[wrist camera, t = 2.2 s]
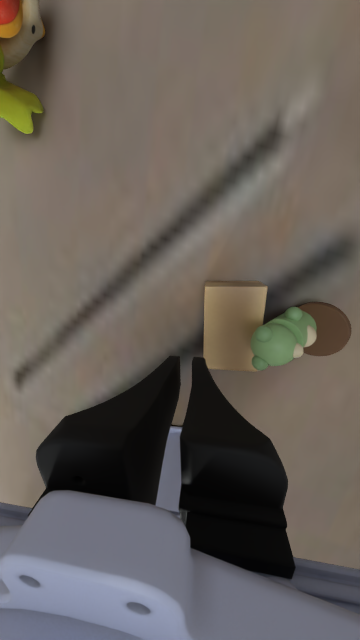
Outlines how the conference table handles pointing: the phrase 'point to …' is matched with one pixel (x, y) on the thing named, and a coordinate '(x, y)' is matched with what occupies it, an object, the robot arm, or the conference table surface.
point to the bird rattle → (18, 59)
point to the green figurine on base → (300, 334)
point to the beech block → (232, 322)
